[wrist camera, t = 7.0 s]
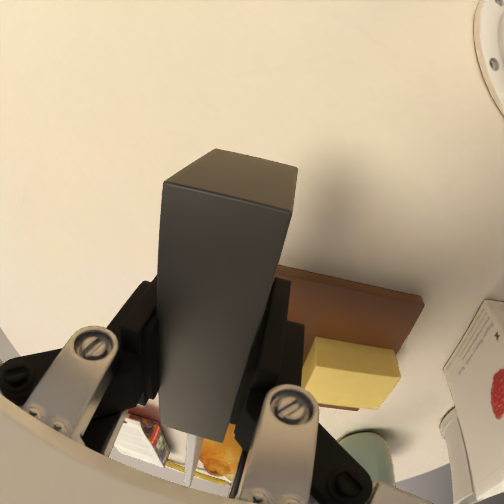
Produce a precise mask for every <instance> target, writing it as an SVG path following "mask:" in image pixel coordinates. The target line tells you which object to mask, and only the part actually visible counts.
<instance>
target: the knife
mask: <svg viewBox="0 0 504 504" xmlns="http://www.w3.org/2000/svg"><path fill="white" fill-rule="evenodd" d="M297 173H298V168H297V167H294V166H290V165H286V164H282V163H278V162H274V161H270V160H266V159H261V158H257V157H253V156H248V155H244V154H239V153H235V152H230V151H225V150H220V149H214V150H212V151H210V152H209V153H207V154H206V155H204V156H202V157H201V158H199V159H198V160H196V161H194V162H193V163H191V164H190V165H188V166H187V167H185V168H183V169H182V170H180V171H179V172H177V173H176V174H174V175H173V176H171V177H170V178H168V179H167V180H165V181H164V183H163V191H162V203H161V215H160V230H159V247H158V270H157V319H158V320H159V381H160V388H159V391H158V394H159V411H160V424H161V425H164V426H167V427H170V428H173V429H176V430H179V431H182V432H185V433H188V434H187V447H186V460H185V474H184V486H187V487H190V485H191V482H192V479H193V476H194V473H195V470H196V466H197V463H198V460H199V457H200V454H201V450H202V447H203V442H204V438H205V439H209V440H213V441H216V442H220V443H223V441H224V438H225V435H226V432H227V429H228V426H229V422H230V418H231V414H232V411H233V407H234V404H235V401H236V398H237V395H238V392H239V388H240V385H241V382H242V379H243V376H244V372H245V369H246V366H247V363H248V360H249V356H250V353H251V350H252V347H253V346H254V344H255V341H256V337H257V334H258V331H259V327H260V324H261V321H262V318H263V314H264V311H265V307H266V304H267V301H268V297H269V294H270V290H271V287H272V284H273V280H274V277H275V273H276V270H277V266H278V263H279V259H280V256H281V252H282V249H283V245H284V242H285V238H286V235H287V231H288V227H289V224H290V220H291V217H292V212H293V204H294V197H295V189H296V181H297Z"/></svg>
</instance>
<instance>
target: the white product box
mask: <svg viewBox="0 0 504 504" xmlns="http://www.w3.org/2000/svg"><path fill="white" fill-rule="evenodd" d="M443 371H444V374H445V377H446V379H447V383H448V386H449V389H450V392H451V395H452V398H453V401H454V405H455V408H456V411H457V415H458V418H459V422H460V425H461V429H462V433H463V437H464V440H465V444H466V449H467V453H468V457H469V461H470V466H471V471H472V476H473V481H474V487H475V493H476V499H477V500H479V499H483V498H487V497H490V496H493V495H496V494H498V493H501V492H504V302H498V301H492V300H484V301H483V303H482V305H481V307H480V309H479V311H478V313H477V314H476V316H475V318H474V320H473V321H472V323H471V325H470V327H469V328H468V330H467V332H466V334H465V335H464V337H463V338H462V340H461V342H460V343H459V345H458V347H457V348H456V350H455V351H454V353H453V354H452V356H451V358H450V359H449V361H448V362H447V363H446V365H445V367H444V368H443Z"/></svg>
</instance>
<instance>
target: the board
mask: <svg viewBox="0 0 504 504" xmlns="http://www.w3.org/2000/svg"><path fill="white" fill-rule="evenodd" d="M275 277H278V278H282V279H286V280H290V281H291V289H290V298H289V307H288V315H287V320H288V321H292V322H297V323H301V324H304V326H305V332H304V350H303V366H304V363H305V361H306V359H307V356H308V354H309V352H310V349H311V347H312V345H313V342H314V340H315V337H321V338H326V339H332V340H337V341H343V342H349V343H354V344H360V345H366V346H372V347H379V348H385V349H392V350H394V351H395V355H396V354H397V353H398V351H399V350H400V348H401V346H402V345H403V343H404V341H405V340H406V338H407V336H408V335H409V333H410V331H411V329H412V328H413V326H414V324H415V322H416V321H417V319H418V317H419V315H420V313H421V312H422V310H423V308H424V306H425V304H424V302H423V300H422V298H421V297H420V296H416V295H411V294H407V293H402V292H398V291H393V290H388V289H384V288H379V287H375V286H370V285H366V284H361V283H357V282H352V281H348V280H343V279H339V278H334V277H330V276H325V275H321V274H316V273H312V272H307V271H303V270H298V269H294V268H289V267H285V266H280V265H278V266H277V270H276V273H275ZM275 277H274V279H275ZM273 281H274V280H273ZM303 366H302V368H303ZM318 405H319V406H320V407H327V408H335V409H343V410H352V411H358V410H359V408H354V407H345V406H337V405H329V404H322V403H318Z"/></svg>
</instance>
